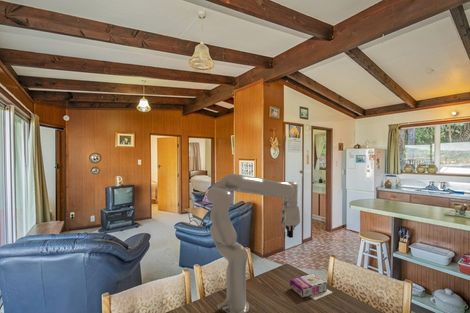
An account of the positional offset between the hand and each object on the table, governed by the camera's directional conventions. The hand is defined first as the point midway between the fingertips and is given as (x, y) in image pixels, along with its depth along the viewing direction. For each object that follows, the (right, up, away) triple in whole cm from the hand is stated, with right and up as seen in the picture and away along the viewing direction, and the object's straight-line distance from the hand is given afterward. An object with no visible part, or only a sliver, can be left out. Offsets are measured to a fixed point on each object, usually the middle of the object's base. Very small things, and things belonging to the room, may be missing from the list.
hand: (289, 236), depth 139 cm
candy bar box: (+2, -26, -5) cm, 27 cm away
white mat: (+11, -28, 0) cm, 31 cm away
